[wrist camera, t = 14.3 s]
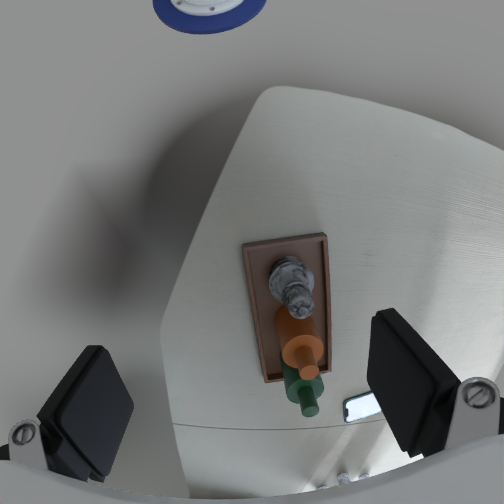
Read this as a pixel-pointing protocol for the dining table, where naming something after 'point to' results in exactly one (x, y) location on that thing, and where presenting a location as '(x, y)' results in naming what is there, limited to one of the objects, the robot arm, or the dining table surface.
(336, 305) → the dining table surface
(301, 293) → the salt shaker
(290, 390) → the dark green bottle
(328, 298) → the tray
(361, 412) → the smartphone
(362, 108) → the dining table surface
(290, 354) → the amber bottle
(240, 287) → the dining table surface
